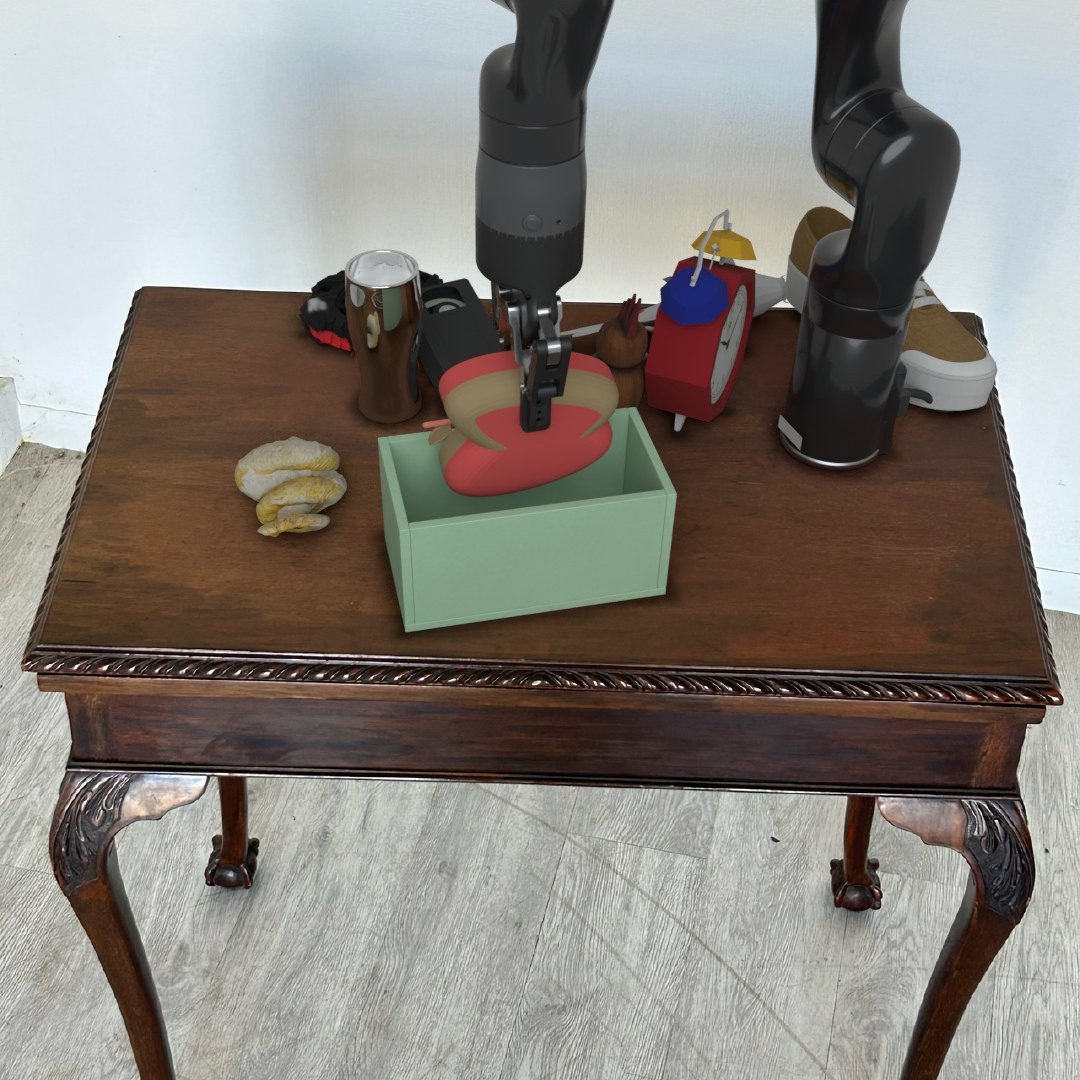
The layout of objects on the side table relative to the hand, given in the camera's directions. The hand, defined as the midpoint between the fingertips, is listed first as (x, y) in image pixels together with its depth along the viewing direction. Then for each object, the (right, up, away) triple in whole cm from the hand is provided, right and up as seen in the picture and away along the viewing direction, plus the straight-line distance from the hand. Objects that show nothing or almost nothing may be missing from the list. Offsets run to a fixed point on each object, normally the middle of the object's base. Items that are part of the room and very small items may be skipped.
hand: (525, 408), depth 104 cm
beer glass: (-13, +3, +27) cm, 31 cm away
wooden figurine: (+7, +1, +25) cm, 26 cm away
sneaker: (+35, +10, +37) cm, 52 cm away
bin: (0, -12, +11) cm, 16 cm away
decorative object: (+7, 0, +4) cm, 8 cm away
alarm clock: (+15, +3, +29) cm, 33 cm away
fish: (+17, +13, +32) cm, 38 cm away
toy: (-16, +13, +39) cm, 44 cm away
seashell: (-21, -7, +16) cm, 27 cm away
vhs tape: (-7, +9, +32) cm, 34 cm away
